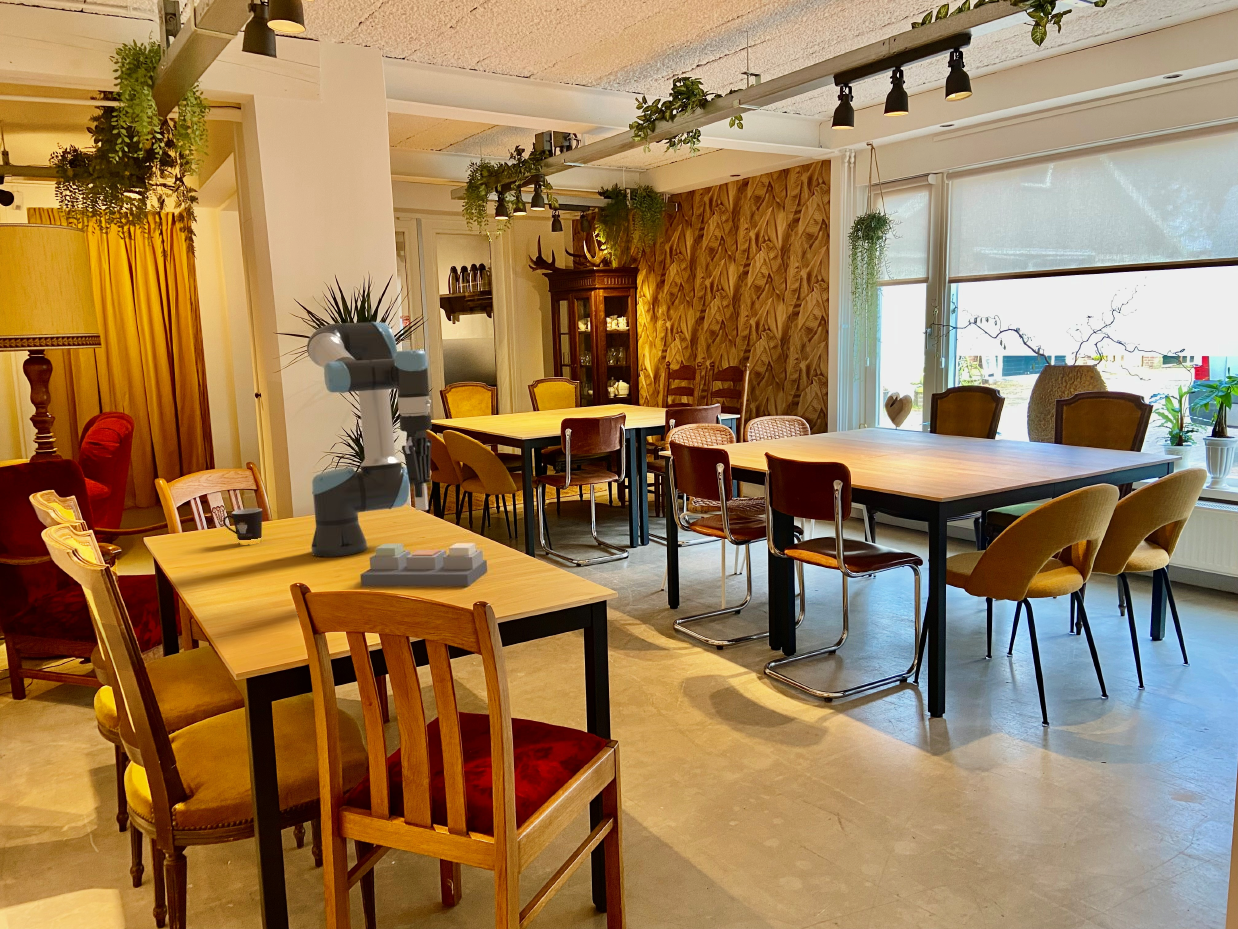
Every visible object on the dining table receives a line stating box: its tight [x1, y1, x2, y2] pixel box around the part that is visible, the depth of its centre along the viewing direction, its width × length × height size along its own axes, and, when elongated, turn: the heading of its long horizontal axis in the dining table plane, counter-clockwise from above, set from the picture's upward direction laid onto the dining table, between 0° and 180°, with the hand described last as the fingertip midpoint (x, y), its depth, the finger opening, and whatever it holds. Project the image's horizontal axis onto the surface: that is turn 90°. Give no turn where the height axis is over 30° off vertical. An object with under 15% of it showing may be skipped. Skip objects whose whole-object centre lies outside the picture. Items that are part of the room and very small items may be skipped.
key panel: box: [359, 549, 488, 588], centre depth 217 cm, size 27×14×6 cm, turn 80°
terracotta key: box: [412, 549, 441, 556], centre depth 219 cm, size 5×5×3 cm
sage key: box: [375, 543, 405, 557], centre depth 220 cm, size 5×5×3 cm
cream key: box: [448, 542, 477, 556], centre depth 217 cm, size 5×5×3 cm
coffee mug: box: [222, 508, 263, 540], centre depth 272 cm, size 12×9×10 cm
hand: (421, 509), depth 219 cm, fingers closed
